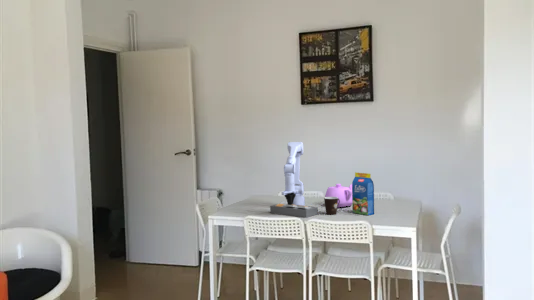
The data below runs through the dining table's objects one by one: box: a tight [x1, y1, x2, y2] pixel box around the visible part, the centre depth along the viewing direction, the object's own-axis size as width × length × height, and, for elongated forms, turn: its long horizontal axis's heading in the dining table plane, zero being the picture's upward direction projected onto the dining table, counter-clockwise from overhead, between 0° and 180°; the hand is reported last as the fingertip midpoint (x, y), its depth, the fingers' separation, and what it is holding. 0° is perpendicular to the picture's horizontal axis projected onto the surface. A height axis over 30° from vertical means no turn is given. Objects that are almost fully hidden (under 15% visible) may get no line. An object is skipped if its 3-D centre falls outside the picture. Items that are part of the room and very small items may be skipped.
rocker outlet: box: [297, 205, 313, 209], centre depth 290 cm, size 9×6×1 cm, turn 140°
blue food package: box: [351, 171, 375, 216], centre depth 290 cm, size 6×12×25 cm, turn 39°
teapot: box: [324, 183, 352, 209], centre depth 318 cm, size 23×21×15 cm
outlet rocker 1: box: [275, 200, 288, 207], centre depth 302 cm, size 9×6×1 cm, turn 140°
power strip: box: [269, 203, 319, 219], centre depth 296 cm, size 12×28×4 cm, turn 50°
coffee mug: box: [323, 196, 340, 216], centre depth 292 cm, size 12×9×10 cm
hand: (290, 205), depth 293 cm, fingers closed, pressing on outlet rocker 2
